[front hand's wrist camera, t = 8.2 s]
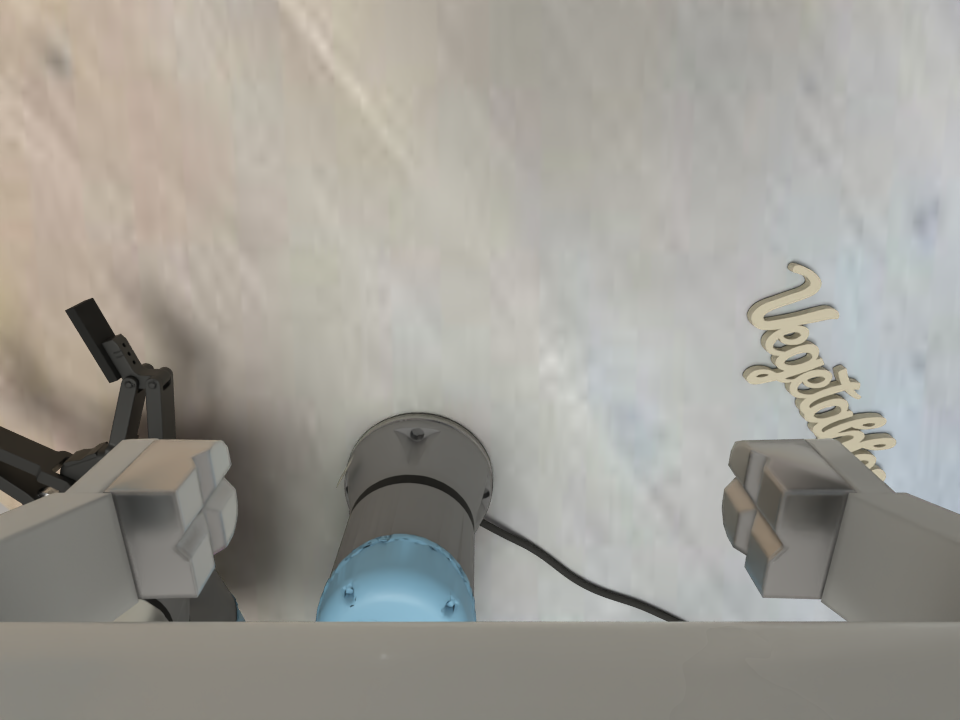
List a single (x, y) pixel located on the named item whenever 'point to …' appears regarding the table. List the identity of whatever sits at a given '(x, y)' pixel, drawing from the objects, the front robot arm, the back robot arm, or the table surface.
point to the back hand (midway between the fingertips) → (4, 329)
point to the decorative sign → (814, 373)
